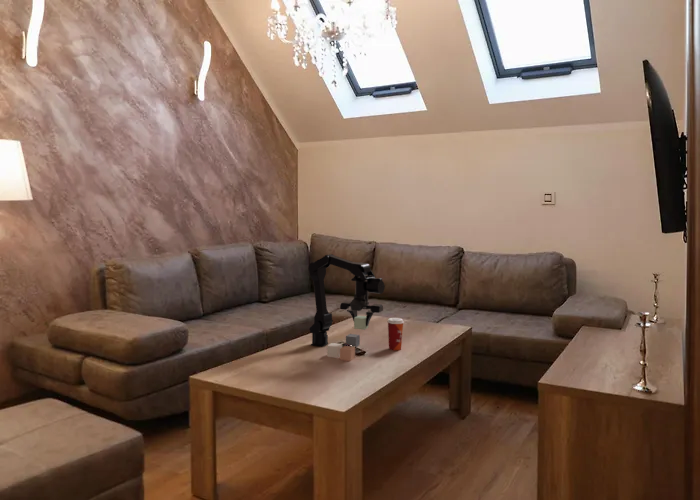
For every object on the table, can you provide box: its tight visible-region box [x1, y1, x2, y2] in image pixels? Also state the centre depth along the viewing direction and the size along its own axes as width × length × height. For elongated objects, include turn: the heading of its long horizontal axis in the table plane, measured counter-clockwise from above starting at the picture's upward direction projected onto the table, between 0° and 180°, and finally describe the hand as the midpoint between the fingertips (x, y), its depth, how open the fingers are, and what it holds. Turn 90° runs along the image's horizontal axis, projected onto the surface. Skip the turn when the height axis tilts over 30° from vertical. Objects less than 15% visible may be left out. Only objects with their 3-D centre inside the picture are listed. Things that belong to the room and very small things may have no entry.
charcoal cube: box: [345, 333, 361, 348], centre depth 268 cm, size 5×5×5 cm
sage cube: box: [353, 315, 369, 331], centre depth 254 cm, size 5×5×5 cm
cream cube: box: [326, 342, 343, 359], centre depth 251 cm, size 5×5×5 cm
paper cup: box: [387, 317, 405, 351], centre depth 262 cm, size 8×8×14 cm
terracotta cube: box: [339, 345, 356, 362], centre depth 246 cm, size 5×5×5 cm
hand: (361, 325), depth 254 cm, fingers closed on sage cube, 5 cm apart
